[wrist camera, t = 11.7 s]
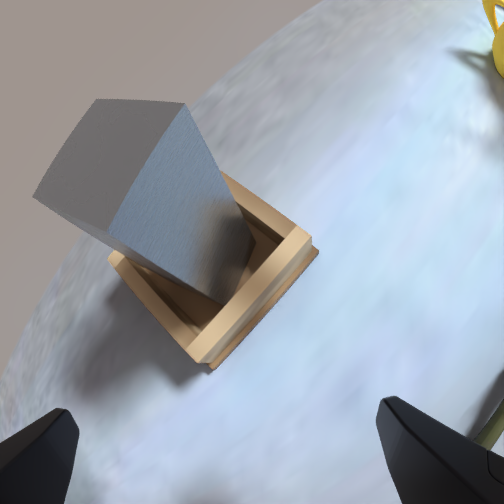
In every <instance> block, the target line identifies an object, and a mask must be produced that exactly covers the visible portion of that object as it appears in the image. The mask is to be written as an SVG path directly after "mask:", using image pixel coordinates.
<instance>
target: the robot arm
mask: <svg viewBox="0 0 504 504" xmlns="http://www.w3.org/2000/svg"><path fill="white" fill-rule="evenodd" d="M376 426H377V429H378V433H379V437H380V440H381V444H382V448H383V451H384V455H385V459H386V463H387V466H388V469H389V472H390V474H391V477H392V479H393V482H394V484H395V487H396V489H397V492H398V494H399V497H400V499H401V502H402V504H504V457H502V456H500V455H498V454H496V453H494V452H492V451H490V450H487V449H486V448H485V447H483V446H481V445H479V444H477V443H476V442H474V441H472V440H470V439H468V438H467V437H465V436H463V435H461V434H460V433H458V432H456V431H454V430H453V429H451V428H449V427H447V426H446V425H444V424H442V423H441V422H439V421H437V420H435V419H434V418H432V417H430V416H429V415H427V414H425V413H424V412H422V411H420V410H418V409H417V408H415V407H413V406H412V405H410V404H409V403H407V402H405V401H404V400H402V399H400V398H399V397H397V396H390V397H386V398H383V399H382V400H381V401H380V404H379V408H378V412H377V416H376ZM78 439H79V428H78V426H77V424H76V422H75V420H74V419H73V417H72V415H71V413H70V412H69V411H68V410H67V409H61V408H55V409H54V410H52V411H51V412H49V413H47V414H46V415H44V416H43V417H41V418H40V419H38V420H36V421H35V422H33V423H32V424H30V425H28V426H27V427H25V428H24V429H22V430H21V431H19V432H17V433H16V434H14V435H12V436H11V437H9V438H8V439H6V440H4V441H3V442H1V443H0V504H64V501H65V497H66V494H67V490H68V486H69V483H70V479H71V475H72V471H73V466H74V460H75V455H76V449H77V444H78Z"/></svg>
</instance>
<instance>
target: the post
mask: <svg viewBox="0 0 504 504" xmlns="http://www.w3.org/2000/svg"><path fill="white" fill-rule="evenodd" d="M33 198H35V199H36V200H38V201H39V202H41V203H42V204H44V205H45V206H47V207H48V208H49V209H51V210H53V211H54V212H56V213H57V214H59V215H60V216H62V217H63V218H65V219H66V220H68V221H69V222H71V223H73V224H74V225H76V226H77V227H79V228H80V229H82V230H83V231H85V232H87V233H88V234H90V235H91V236H93V237H95V238H96V239H98V240H100V241H101V242H103V243H104V244H106V245H108V246H109V247H111V248H113V249H114V250H116V251H118V252H119V253H121V254H123V255H124V256H126V257H128V258H130V259H131V260H133V261H135V262H136V263H138V264H140V265H142V266H143V267H145V268H147V269H148V270H150V271H152V272H154V273H155V274H157V275H159V276H161V277H163V278H164V279H166V280H168V281H170V282H172V283H174V284H176V285H178V286H181V287H183V288H185V289H187V290H189V291H192V292H194V293H196V294H198V295H201V296H203V297H205V298H207V299H210V300H212V301H214V302H216V303H219V304H221V305H223V306H225V305H226V304H227V303H228V302H229V301H230V300H231V299H232V297H233V295H234V293H235V291H236V288H237V286H238V284H239V282H240V279H241V277H242V275H243V273H244V270H245V268H246V266H247V264H248V261H249V259H250V257H251V254H252V252H253V250H254V248H255V245H256V243H257V242H256V240H255V238H254V236H253V234H252V232H251V230H250V228H249V226H248V225H247V223H246V221H245V219H244V217H243V215H242V213H241V211H240V209H239V207H238V205H237V203H236V201H235V199H234V197H233V195H232V193H231V191H230V189H229V187H228V185H227V184H226V182H225V180H224V178H223V176H222V174H221V172H220V170H219V168H218V166H217V164H216V162H215V160H214V158H213V156H212V154H211V152H210V151H209V149H208V147H207V145H206V143H205V141H204V139H203V137H202V135H201V133H200V131H199V129H198V127H197V125H196V124H195V122H194V120H193V118H192V116H191V114H190V112H189V110H188V108H187V106H186V104H185V103H174V102H162V101H146V100H122V99H96V100H95V102H94V103H93V104H92V106H91V107H90V108H89V109H88V111H87V112H86V113H85V115H84V116H83V117H82V119H81V120H80V122H79V123H78V125H77V126H76V127H75V129H74V130H73V131H72V133H71V134H70V136H69V137H68V139H67V140H66V142H65V143H64V145H63V146H62V148H61V149H60V151H59V152H58V154H57V155H56V157H55V159H54V160H53V162H52V164H51V165H50V167H49V169H48V170H47V172H46V174H45V175H44V177H43V179H42V181H41V182H40V184H39V186H38V188H37V190H36V192H35V193H34V195H33Z"/></svg>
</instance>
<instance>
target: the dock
mask: <svg viewBox="0 0 504 504" xmlns="http://www.w3.org/2000/svg"><path fill="white" fill-rule="evenodd" d="M220 172H221V174H222V176H223V178H224V180H225V182H226V184H227V185H228V187H229V189H230V191H231V193H232V195H233V197H234V199H235V201H236V203H237V205H238V207H239V209H240V211H241V213H242V215H243V217H244V219H245V221H246V223H247V225H248V226H249V228H250V230H251V232H252V234H253V236H254V238H255V240H256V242H257V243H256V245H255V248H254V250H253V252H252V254H251V257H250V259H249V261H248V264H247V266H246V268H245V270H244V273H243V275H242V277H241V279H240V282H239V284H238V286H237V288H236V291H235V293H234V295H233V297H232V299H231V300H230V301H229V302H228V303H227V304H226V305H225V306H223V305H221V304H219V303H216V302H214V301H212V300H210V299H207V298H205V297H203V296H201V295H198V294H196V293H194V292H192V291H189V290H187V289H185V288H183V287H181V286H178V285H176V284H174V283H172V282H170V281H168V280H166V279H164V278H163V277H161V276H159V275H157V274H155V273H154V272H152V271H150V270H148V269H147V268H145V267H143V266H142V265H140V264H138V263H136V262H135V261H133V260H131V259H130V258H128V257H126V256H124V255H123V254H121V253H119V252H118V251H116V250H114V251H113V252H112V253H111V255H110V256H109V257H108V258H107V259H108V261H109V262H110V263H111V265H112V266H113V267H114V269H115V270H116V271H117V272H118V274H119V275H120V276H121V277H122V279H123V280H124V281H125V282H126V284H127V285H128V286H129V287H130V289H131V290H132V291H133V292H134V293H135V295H136V296H137V297H138V298H139V299H140V301H141V302H142V303H143V304H144V305H145V307H146V308H147V309H148V310H149V311H150V312H151V314H152V315H153V316H154V317H155V318H156V319H157V320H158V321H159V323H160V324H161V325H162V326H163V327H164V328H165V329H166V330H167V332H168V333H169V334H170V335H171V336H172V337H173V338H174V339H175V340H176V341H177V342H178V344H179V345H180V346H181V347H182V348H183V349H184V350H185V351H186V352H187V353H188V354H189V355H190V356H191V357H192V358H193V359H194V360H195V361H196V362H197V363H206V364H207V365H208V366H209V367H210V368H211V369H212V370H214V369H216V368H217V367H218V366H219V365H220V364H221V363H222V362H223V361H224V360H225V359H226V358H227V357H228V356H229V355H230V354H231V352H232V351H233V350H234V349H235V348H236V347H237V346H238V345H239V344H240V343H241V342H242V341H243V339H244V338H245V337H246V336H247V335H248V334H249V333H250V332H251V331H252V330H253V329H254V327H255V326H256V325H257V324H258V323H259V322H260V321H261V320H262V319H263V317H264V316H265V315H266V314H267V313H268V312H269V311H270V310H271V308H272V307H273V306H274V305H275V304H276V303H277V302H278V300H279V299H280V298H281V297H282V296H283V295H284V294H285V292H286V291H287V290H288V289H289V288H290V287H291V286H292V284H293V283H294V282H295V281H296V280H297V279H298V277H299V276H300V275H301V274H302V273H303V272H304V270H305V269H306V268H307V267H308V266H309V264H310V263H311V262H312V261H313V260H314V259H315V257H316V256H317V255H318V254H319V250H318V249H316V248H315V247H314V246H313V245H312V236H311V235H310V234H308V233H307V232H306V231H304V230H303V229H302V228H300V227H299V226H298V225H296V224H295V223H294V222H292V221H291V220H290V219H288V218H287V217H285V216H284V215H283V214H281V213H280V212H279V211H277V210H276V209H274V208H273V207H272V206H270V205H269V204H267V203H266V202H265V201H263V200H262V199H260V198H259V197H258V196H256V195H255V194H253V193H252V192H251V191H249V190H248V189H246V188H245V187H244V186H242V185H241V184H239V183H238V182H236V181H235V180H233V179H232V178H231V177H229V176H228V175H226V174H225V173H223V172H222V171H220Z"/></svg>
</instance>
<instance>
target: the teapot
mask: <svg viewBox="0 0 504 504" xmlns="http://www.w3.org/2000/svg"><path fill="white" fill-rule="evenodd" d="M482 2H483V7H484V10H485V12H486V15H487V17H488V20H489V22H490V25H491V27H492V29H493V32H494V34H495V37H494V40H493V44H492V50H493V57H494V62H495V66H496V69H497V71H498V72H499V74H500V75H501V76H502V77H503V78H504V22H503V23H502V25H501V26H500V27H498V23H497V19H496V14H495V5H496V4H498V5H500V6H502V7H504V0H482Z"/></svg>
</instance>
